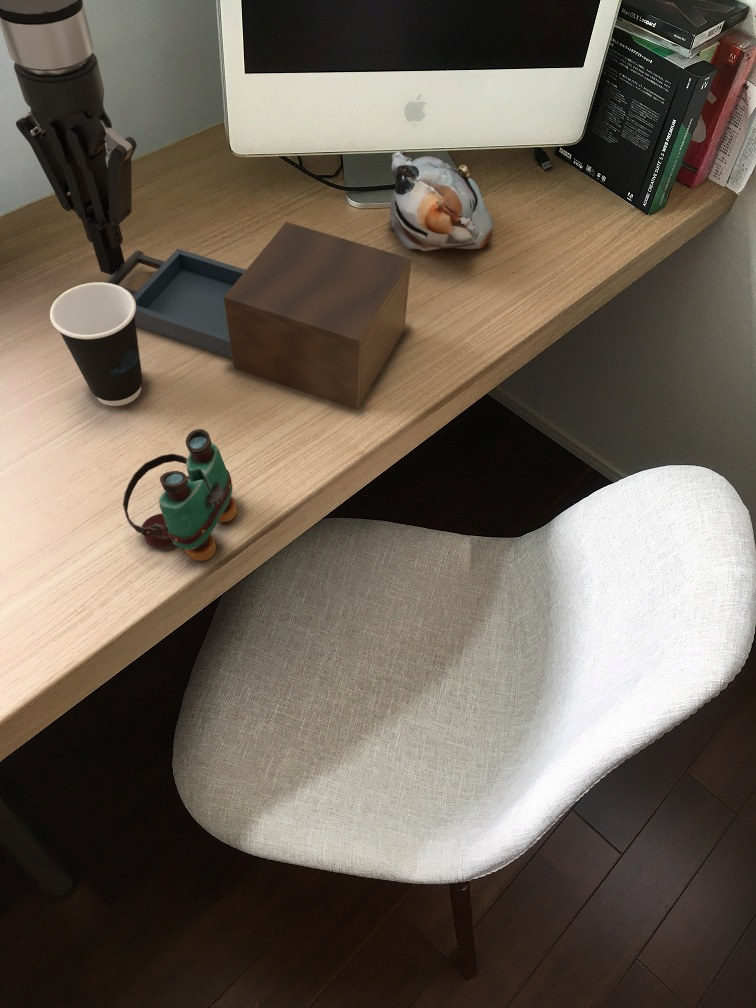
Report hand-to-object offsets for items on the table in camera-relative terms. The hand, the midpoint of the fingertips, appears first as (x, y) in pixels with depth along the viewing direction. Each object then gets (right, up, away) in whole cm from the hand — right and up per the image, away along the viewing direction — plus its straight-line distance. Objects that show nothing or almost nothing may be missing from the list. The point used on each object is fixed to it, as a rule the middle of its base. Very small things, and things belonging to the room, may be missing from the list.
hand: (112, 266), depth 92 cm
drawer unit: (+25, -10, -4) cm, 27 cm away
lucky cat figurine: (+39, +6, +10) cm, 41 cm away
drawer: (+9, -4, 0) cm, 10 cm away
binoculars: (+13, -30, -18) cm, 37 cm away
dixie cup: (+4, -16, -8) cm, 18 cm away
